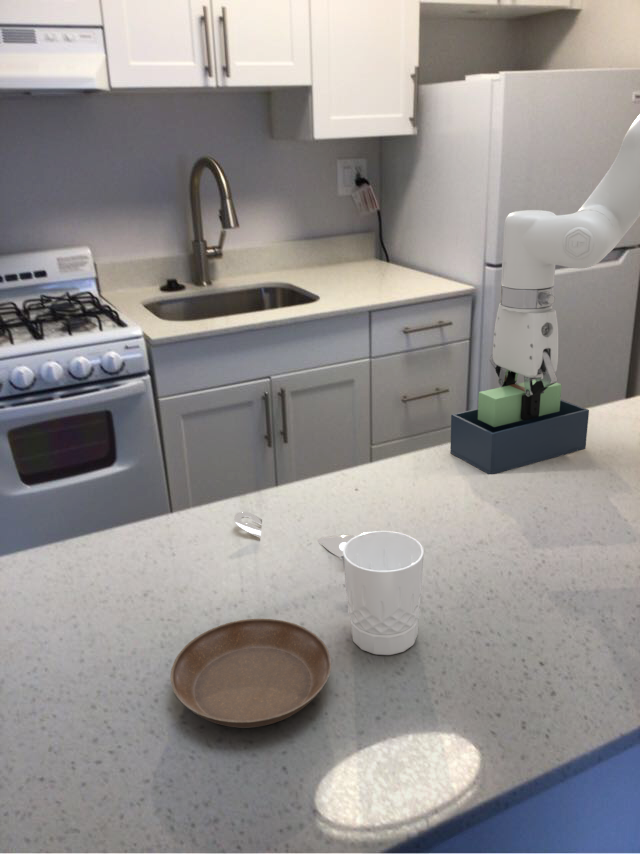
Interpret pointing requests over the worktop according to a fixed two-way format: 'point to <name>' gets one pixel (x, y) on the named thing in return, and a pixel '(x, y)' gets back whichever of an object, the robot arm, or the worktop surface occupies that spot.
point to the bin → (518, 438)
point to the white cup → (383, 590)
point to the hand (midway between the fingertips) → (519, 412)
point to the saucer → (251, 672)
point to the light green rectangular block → (514, 403)
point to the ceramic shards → (330, 543)
